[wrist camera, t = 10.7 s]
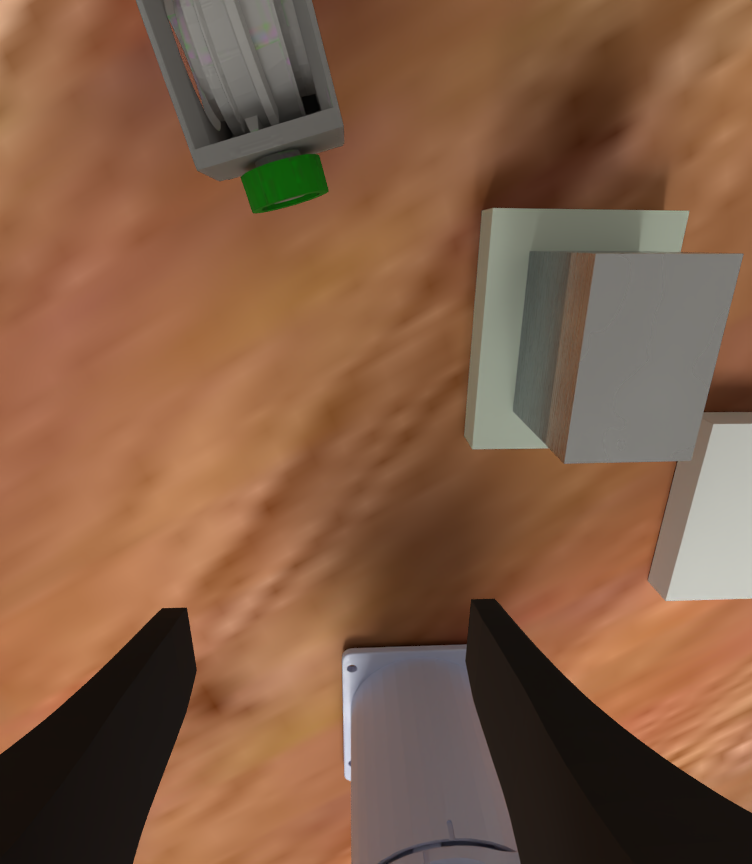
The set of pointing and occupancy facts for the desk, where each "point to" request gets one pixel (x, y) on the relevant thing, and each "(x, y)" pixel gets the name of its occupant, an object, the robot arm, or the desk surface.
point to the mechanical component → (250, 92)
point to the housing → (621, 351)
